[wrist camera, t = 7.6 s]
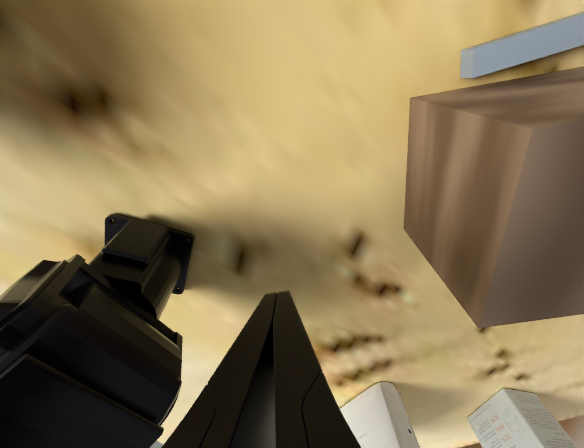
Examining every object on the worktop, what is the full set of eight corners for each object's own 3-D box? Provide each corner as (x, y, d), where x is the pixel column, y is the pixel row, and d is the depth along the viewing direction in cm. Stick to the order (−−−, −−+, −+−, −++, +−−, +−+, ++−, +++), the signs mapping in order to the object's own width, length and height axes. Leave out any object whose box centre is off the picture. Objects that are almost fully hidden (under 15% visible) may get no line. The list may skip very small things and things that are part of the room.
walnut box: (402, 228, 23) (478, 328, 14) (409, 97, 18) (532, 128, 9) (604, 196, 22) (816, 282, 13) (670, 50, 17) (1082, 34, 8)
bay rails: (455, 256, 24) (463, 265, 23) (461, 50, 16) (473, 48, 15) (576, 228, 23) (590, 235, 22) (645, -8, 15) (672, -13, 14)
